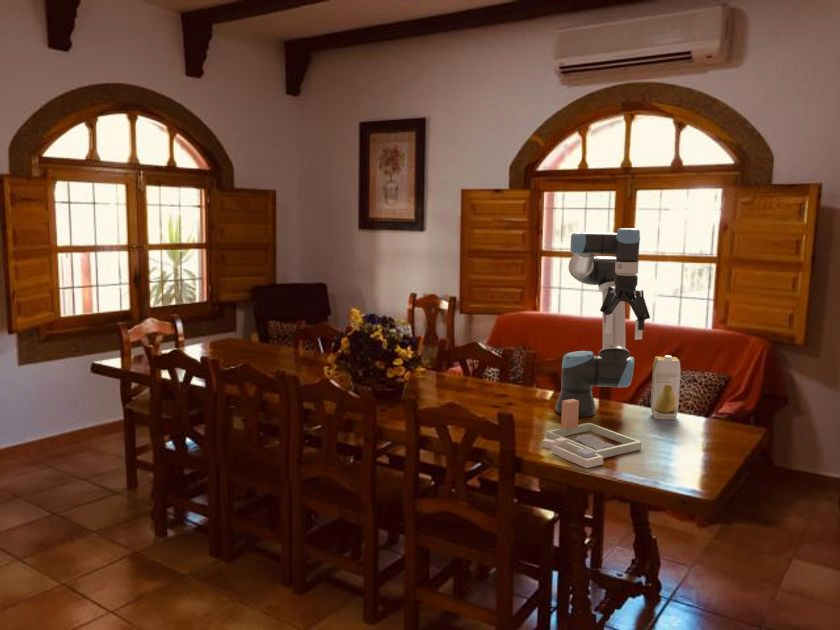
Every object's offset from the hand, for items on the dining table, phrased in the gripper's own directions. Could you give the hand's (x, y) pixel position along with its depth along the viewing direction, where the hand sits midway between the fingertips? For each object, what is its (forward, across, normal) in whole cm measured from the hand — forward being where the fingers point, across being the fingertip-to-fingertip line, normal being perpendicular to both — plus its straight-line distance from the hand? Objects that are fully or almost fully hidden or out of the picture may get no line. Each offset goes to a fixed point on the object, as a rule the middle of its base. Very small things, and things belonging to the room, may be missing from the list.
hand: (623, 336), depth 247 cm
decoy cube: (+35, +16, -30) cm, 49 cm away
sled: (+35, +12, -30) cm, 48 cm away
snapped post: (+35, -1, -30) cm, 46 cm away
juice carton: (+35, -6, +30) cm, 46 cm away
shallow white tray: (+35, +4, -16) cm, 38 cm away
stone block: (+35, +9, -19) cm, 41 cm away
